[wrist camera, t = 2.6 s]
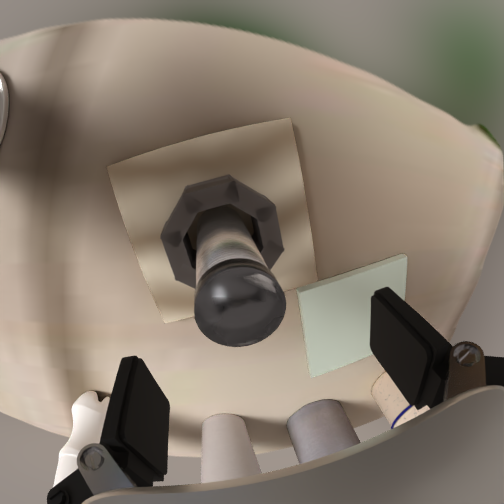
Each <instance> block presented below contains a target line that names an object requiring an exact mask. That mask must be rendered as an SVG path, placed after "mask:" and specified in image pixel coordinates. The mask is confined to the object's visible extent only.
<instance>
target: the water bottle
mask: <svg viewBox="0 0 504 504" xmlns="http://www.w3.org/2000/svg"><path fill="white" fill-rule="evenodd" d="M109 400H110V397H106V398H104V399H103V400H102V402H99V401H98V396H97V393H96V392H94V391H87V392H85V393H84V394H82V395H81V396H80V397H79V398H78V399H77V400H76V401H75V402H74V404H73V407H72V414H73V430H72V433H71V436H70V438H69V441H68V442H67V443H66V444H65V446H64V447H63V448H62V449H61V450H60V453H59V462H58V467H57V472H56V476H55V481H54V486H55V485H57V484H58V483H59V482H61V481H62V480H63V479H65V478H66V477H67V476H69V475H70V474H71V473H73V472H74V471H75V470H77V469H78V466H77V456H78V453H79V452H80V450H81V449H82V448H83V447H85V446H86V445H88V444H92V443H98V444H99V443H100V438H101V434H102V429H103V425H104V420H105V416H106V412H107V408H108V404H109ZM54 486H53V487H54ZM53 487H52V488H53Z"/></svg>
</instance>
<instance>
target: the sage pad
mask: <svg viewBox="0 0 504 504" xmlns="http://www.w3.org/2000/svg"><path fill="white" fill-rule="evenodd" d="M406 276H407V256H406V255H405V254H403V253H402V254H399V255H396V256H393V257H391V258H388V259H385V260H382V261H379V262H376V263H373V264H370V265H367V266H364V267H361V268H358V269H355V270H352V271H349V272H346V273H343V274H340V275H337V276H334V277H331V278H328V279H324V280H321V281H318V282H315V283H312V284H308V285H305V286H302V287H299V288H296V290H297V296H298V302H299V308H300V315H301V321H302V328H303V335H304V342H305V349H306V356H307V363H308V370H309V375H310V377H311V378H313V377H316V376H319V375H322V374H325V373H327V372H330V371H333V370H335V369H338V368H341V367H343V366H346V365H348V364H351V363H353V362H356V361H358V360H361V359H363V358H366V357H368V356H370V355H373V353H372V351H371V349H370V320H371V296H373V295H374V292H375V291H376V290H379V289H381V288H384V287H389V288H391V289H392V290H393V291H394V292H395V293H396V294H397V295H398V296H399V297H401V298H402V299H403V300H404V301H405V291H406Z"/></svg>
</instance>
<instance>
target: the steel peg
mask: <svg viewBox="0 0 504 504" xmlns="http://www.w3.org/2000/svg"><path fill="white" fill-rule="evenodd" d="M285 310H286V299H285V295H284V292H283V290H282V288H281V286H280V284H279V283H278V281H277V279H276V277H275V276H274V274H273V273H272V272H271V271H270V269H268V267H267V265H266V263H265V261H264V259H263V258H262V256H261V254H260V252H259V250H258V248H257V246H256V245H255V243H254V241H253V239H252V237H251V235H250V233H249V232H248V230H247V228H246V226H245V224H244V222H243V221H242V219H241V217H240V215H239V214H238V213H237V212H236V211H235V210H234V209H232V208H230V207H228V206H224V205H223V206H219V207H215V208H211V209H208V210H206V211H204V212H203V213H202V215H201V216H200V218H199V220H198V223H197V246H196V289H195V293H194V315H195V320H196V323H197V325H198V327H199V329H200V330H201V332H202V333H203V334H204V335H205V336H206V337H208V338H209V339H210V340H212V341H214V342H216V343H218V344H221V345H225V346H232V347H241V346H248V345H252V344H255V343H257V342H260V341H262V340H263V339H265V338H267V337H268V336H269V335H271V334H272V333H273V332H274V331H275V330H276V329H277V328H278V326H279V325H280V323H281V322H282V320H283V317H284V314H285Z"/></svg>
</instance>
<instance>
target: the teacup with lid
mask: <svg viewBox="0 0 504 504" xmlns="http://www.w3.org/2000/svg"><path fill="white" fill-rule="evenodd" d="M372 396H373V398H374V399H375V401H376V403H377V404H378V406H379V407H380V409H381V411H382V412H383V414H384V415H385V417H386V418H387V420H388V422H389V423H390V425H391V429H393V428H395V427H397V426H399V425H401V424H403V423H405V422H407V421H409V420H411V419H413V418H415V417H417V416H419V415H420V414H422V413H424V412H426V411H428V410H430V408H429V407H428V406H427V405H426V406H425V407H423V408H421V409H419V410H417V409H416V407H415V406H414V405H413V406H411V405H409V403H408V402H407V400H406V399H405V398H404V396H403V395H402V393H401V392H400V390H399V389H398V388H397V386H396V385H395V383H394V382H393V381H392V379H391V378H390V376H389V375H388V373H387V372H384V373H383V374H382V375H381V376H380V377H379V378H378V379H377V381H376V382H375V384H374V385H373V388H372Z"/></svg>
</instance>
